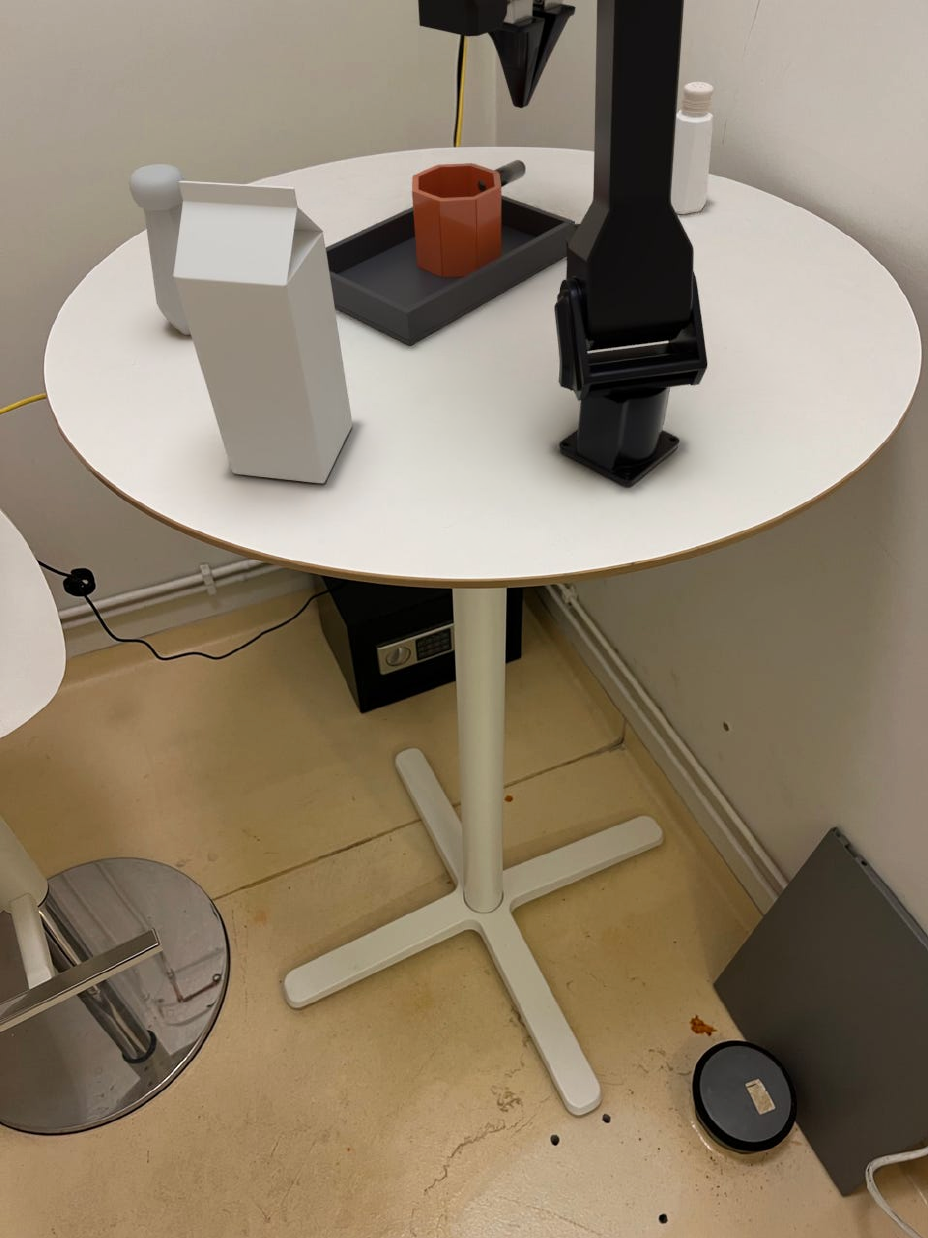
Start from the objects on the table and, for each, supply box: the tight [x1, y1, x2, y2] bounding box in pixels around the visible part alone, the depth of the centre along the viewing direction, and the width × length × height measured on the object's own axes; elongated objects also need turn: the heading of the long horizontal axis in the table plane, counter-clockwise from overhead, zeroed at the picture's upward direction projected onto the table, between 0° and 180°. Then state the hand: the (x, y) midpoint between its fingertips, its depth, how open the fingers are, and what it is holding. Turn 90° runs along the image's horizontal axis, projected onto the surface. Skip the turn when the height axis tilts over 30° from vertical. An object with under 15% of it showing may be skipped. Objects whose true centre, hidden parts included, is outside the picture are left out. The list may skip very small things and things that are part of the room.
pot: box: [411, 159, 527, 277], centre depth 80 cm, size 13×8×7 cm, turn 137°
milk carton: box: [173, 180, 353, 484], centre depth 56 cm, size 7×7×19 cm
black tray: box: [325, 194, 576, 346], centre depth 79 cm, size 22×14×3 cm, turn 137°
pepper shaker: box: [671, 81, 714, 215], centre depth 85 cm, size 5×5×11 cm
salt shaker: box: [128, 163, 191, 336], centre depth 71 cm, size 6×6×13 cm
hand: (520, 106), depth 74 cm, fingers closed
